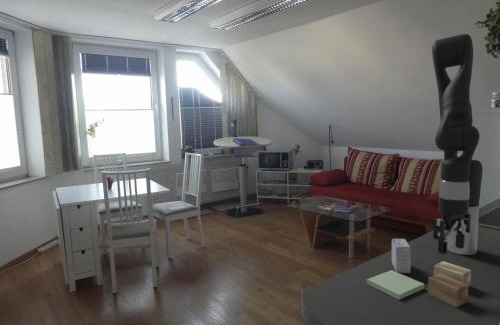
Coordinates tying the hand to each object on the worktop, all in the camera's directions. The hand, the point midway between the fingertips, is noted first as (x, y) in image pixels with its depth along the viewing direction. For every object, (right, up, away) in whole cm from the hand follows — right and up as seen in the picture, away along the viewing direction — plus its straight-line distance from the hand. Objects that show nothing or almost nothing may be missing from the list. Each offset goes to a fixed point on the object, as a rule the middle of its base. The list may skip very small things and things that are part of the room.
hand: (451, 250), depth 102 cm
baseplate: (-16, -11, +1) cm, 19 cm away
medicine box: (-9, -9, +13) cm, 18 cm away
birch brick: (+1, -10, +1) cm, 10 cm away
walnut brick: (-5, -11, -7) cm, 14 cm away
